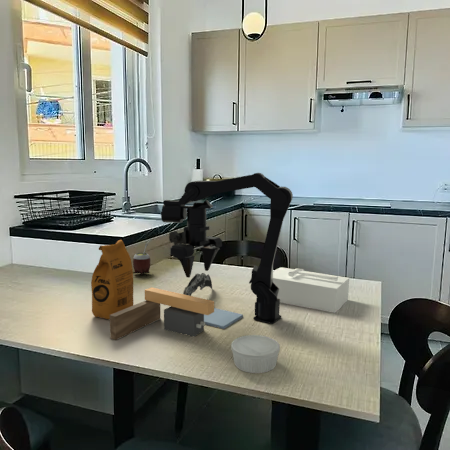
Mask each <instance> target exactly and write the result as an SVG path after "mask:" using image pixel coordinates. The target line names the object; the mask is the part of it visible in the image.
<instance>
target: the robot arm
mask: <svg viewBox="0 0 450 450" xmlns="http://www.w3.org/2000/svg"><path fill="white" fill-rule="evenodd" d="M251 188H252V189H253V188H256V189H257V190H258V191H260V192H261V193H262V195H265V197H267V198H268V199H270V206H269V209H270V211H269V212H270V213H269V215H270V217H269V223H268V227H267V232H266V236H265V240H264V245H263V248H262V253H261V256H260V257H261V258H260V263H259V264H258V266H257V265H256V264H255V265H254V266H253V267H252V269H251V278H250V280H249V282H248V284H249V285H250V290H251V292H252V293H253V294H254V295H255V297H256V299H255V300H256V301H255V302H254V316H253V320H255V321H259V322H264V323H268V324H275V323H276V322H278V321H279V320H280V319H282V315H280V307H281V303H280V299H278V298H277V296H278V292H279V288H278V287H277V286H276V285H275V284H274V283H273V271H274V260H275V257H276V253H277V248H278V243H279V239H280V236H281V230H282V227H283V222H284V219H285V216H286V214H287V212H288V210H289V208H290V205H291V203H292V201H293V197H294V196H293V192H292V190H291V188H288V187H287V186H280V185H278V184H277V183H276V182H274V181H273V180H271V179H270V178H268V177H266V176H265V175H264V174H263V173H262V172H256V173H253V174H248V175H243V176H242V175H241V176H236V177H231V178H226V179H220V180H194V181H189V182H188V183H187V184H186V185H185V187H184V191H183V192H184V193H183V195H182V196H181V197H180V198H179V200H171V199H164V200H163V204H162V206H161V211H160V218H161V221H162V222H163V223H173V224H175V223H177V224H179V223H180V224H181V223H183V222H184V221H185V220H186V226H184V227H183V231H182V232H178V231H177V230H174V231H171V232H169V233H168V234H169V235H168V238H169V239H168V241H169V242H170V243H172V244H173V245H171V246H170V248H169V256H173V258H175V259H177V260H178V261H179V262H180V264H181V266H182V269H183V272H184V274H185V277H186V278H190V277H191V275H192V270H193V266H194V260H195V255H194V254H195V251H196V250H199V249H200V251H201V252H202V255H203V267H204V271H206V272H208V271H209V269H210V268H211V265H212V263H213V261H214V259H215V257H216V256H217V253H218V252H219V250H221V249H220V248H221V247H223V240H222V238H221V237H218V236H210V235H209V236H207V231H209V230H210V225H207V210H209V209H212V208H213V207H214V205H213V204H212V203H211V202H209V200H208V199H207V198H208V197H211V196H214V195H218V194H221V193H228V192H233V191H239V190H244V189H251ZM203 199H207V200H204V201H203V202H198V201H201V200H203ZM191 203H193V204H192V205H188V204H191Z"/></svg>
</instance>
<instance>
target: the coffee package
mask: <svg viewBox="0 0 450 450" xmlns="http://www.w3.org/2000/svg"><path fill="white" fill-rule="evenodd" d="M98 250H99V251H101V253H102V254H101V255H100V257H99V259H98V263H97V265H96V266H95V268H94V271H93V273H92V276H91V282H90V285H91V286H90V287H91V313H92V314H93V316H94V317H95V318H101V319H106V320H109V321H110V315H111V314H113V313H116V312H118V311H121V310H123V309H126V308H128V307H131V306H133V305H134V271H133V270H134V268H133V261H132V259H131V256H130V253H129V252H128V249H127V247H126V246H125V243H124V241H123V240H122V239H119V240H117V241H116V242H115V244H104V245H99V246H98Z"/></svg>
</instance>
